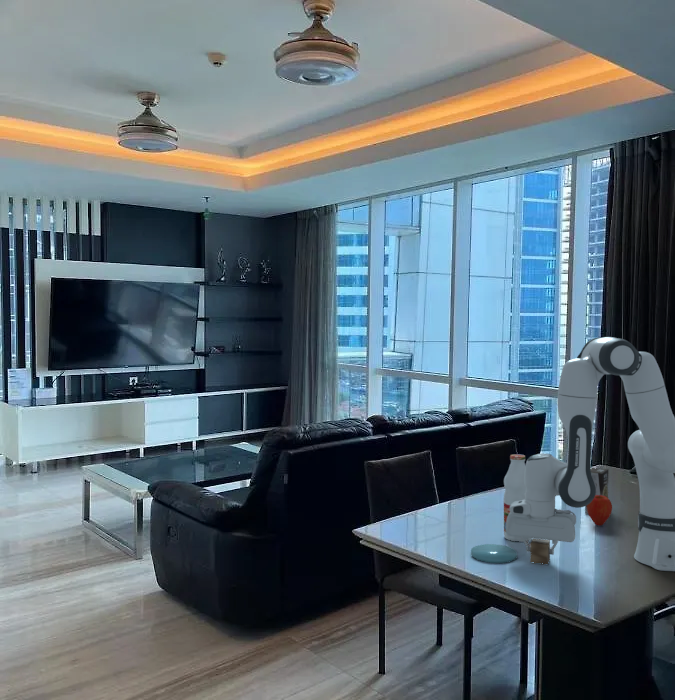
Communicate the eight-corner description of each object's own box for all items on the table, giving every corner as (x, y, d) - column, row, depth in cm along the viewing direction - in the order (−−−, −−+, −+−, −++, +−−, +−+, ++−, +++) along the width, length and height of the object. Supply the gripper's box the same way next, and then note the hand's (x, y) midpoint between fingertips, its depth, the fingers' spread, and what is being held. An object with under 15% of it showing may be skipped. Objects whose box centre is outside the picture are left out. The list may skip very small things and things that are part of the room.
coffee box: (602, 516, 253) (602, 473, 252) (584, 513, 257) (584, 471, 256) (609, 510, 260) (609, 468, 260) (591, 508, 264) (591, 467, 264)
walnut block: (549, 559, 209) (549, 540, 208) (547, 565, 204) (547, 545, 204) (533, 557, 211) (532, 538, 210) (530, 562, 206) (530, 543, 206)
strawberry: (614, 529, 237) (614, 498, 237) (588, 528, 239) (588, 497, 239) (609, 522, 246) (609, 492, 245) (585, 521, 247) (585, 491, 247)
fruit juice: (534, 535, 232) (534, 453, 231) (530, 543, 223) (529, 459, 222) (506, 532, 236) (506, 452, 235) (501, 540, 227) (500, 457, 226)
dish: (520, 551, 217) (520, 547, 217) (512, 565, 204) (512, 561, 204) (476, 545, 222) (476, 542, 222) (466, 559, 210) (466, 555, 210)
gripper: (577, 508, 205) (577, 553, 206) (508, 501, 214) (508, 545, 214) (575, 513, 199) (575, 560, 200) (504, 506, 208) (504, 551, 209)
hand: (540, 552), depth 207 cm, fingers closed on walnut block, 5 cm apart
